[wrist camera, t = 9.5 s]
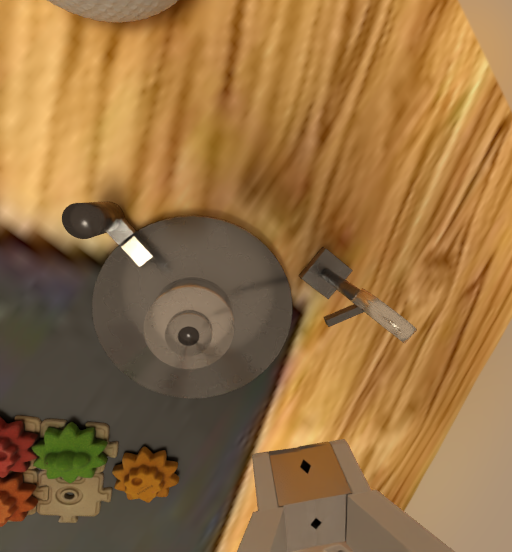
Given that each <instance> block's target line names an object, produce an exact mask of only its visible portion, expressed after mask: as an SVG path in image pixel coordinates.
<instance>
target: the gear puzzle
mask: <svg viewBox="0 0 512 552" xmlns="http://www.w3.org/2000/svg"><path fill="white" fill-rule="evenodd" d="M15 421H16V422H12V423H10V424H7V423H6V422H5V421H4V420H3V419H2V418H1V417H0V527H1V526H3V525H4V524H6V523H7V522H11V521H23V520H24V518H25V517H26V515H31V514H34V513H35V512H36V511H37V512H38V513H39V514H41V515H59V516H60V518H59V520H58V521H59V522H70V523H75V522H77V520H78V517H77V516H96V515H97V514H98V513H99V511H100V507H101V501H105V502H110V500H111V496H112V487H107V488H103V481H104V474H103V472H102V471H103V470H104V468H105V465H106V462H107V460H108V458H107V456H110V457H112V458H115V457H116V456H117V454H118V445H119V442H118V441H114V442H109V429H110V428H109V425H108V424H105V423H99V422H87V423H86V429H84V430H79V428H78V427H77V425H76V424H74V423H73V422H70V423H68V424H67V425H66V423H67V420H63V419H45V420H44V421H41V420H40V419H39V418H37V417H31V416H20V415H17V416H16V417H15ZM65 425H66V427H65ZM166 457H167V455H166V451H165V450H163V451H159V452H157V453H155V454H153V453H152V452H151V451H150V450H149V449H148V448H147V447H143V448H142V449H141V450H140V451H139V453H138V455H135V454H131V453H124V455H123V459H122V464H119V465H116V466H114V468H113V471H112V473H113V475H114V476H115V477H116V478H117V479H118V480H117V481H116V483H115V486H114V488H115V489H117V490H121V491H125V493H127V498H128V499H129V500H131V499H137V498H140V499H142V500H143V501H146V502H150V501H151V500H152V499H153V498H154V497H156V496H158V497H167V496H168V493H169V487H172V486H174V485H176V484H177V483H178V482H179V477H178V476H177V475H176V474H175V473H174V472H175V471H176V469H177V467H178V462H175V461H167V460H166ZM36 467H37V468H40V469H42V470H41V471H39V470H38V469H37V468H36ZM67 492H72V493H74V495H68V494H67Z"/></svg>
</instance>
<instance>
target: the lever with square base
mask: <svg viewBox="0 0 512 552" xmlns="http://www.w3.org/2000/svg"><path fill="white" fill-rule="evenodd" d="M351 272H352V270H351V269H350V268H349V267H348V266H346V265H345V264H344V263H343V262H342V261H340V260H339V259H338V258H337V257H336V256H334V255H333V254H332V253H331V252H330V251H328V250H327V249H326V248H324V247H322V248H321V249H320V251H319V252H318V253H317V254H316V256H315V257H314V258H313V259H312V260H311V262H310V263H309V264H308V265H307V267H306V268H305V269H304V270H303V271H302V273H301V274H300V275H299V277H300V278H301V279H303V280H304V281H305V282H307V283H308V284H309V285H310V286H312V287H313V288H314V289H316V290H317V291H318V292H320V293H321V294H322V295H323V296H325V297H326V298H327V299H329V298H330V297H331V295H332V294H333V293H334V292H335V291H336V290H338V291H339V292H341V293H342V294H343V295H344V296H346V297H347V298H348V299H349V300H351V301H352V302H353V303H354V304H353V305H351V306H349V307H346V308H344V309H342V310H339V311H337V312H335V313H332V314H330V315H327V316H325V317H324V319H325V322H326V324H327V325H328V327H330V326H332V325H335V324H337V323H339V322H342V321H344V320H346V319H349V318H351V317H353V316H356V315H358V314H360V313H363V312H365V313H367V314H368V315H369V316H370V317H372V318H373V319H374V320H375V321H377V322H378V323H379V324H380V325H382V326H383V327H384V328H386V329H387V330H388V331H389V332H391V333H392V334H393V335H394V336H396V337H397V338H398V339H399V340H401V341H402V342H403V343H406V341H407V340H408V339H409V338H410V337H411V336H412V335H413V334H414V333H415V332H416V331H417V329H416V328H415V327H414V326H413V325H412V324H410V323H409V322H408V321H407V320H406V319H404V318H403V317H402V316H400V315H399V314H398V313H397V312H395V311H394V310H393V309H391V308H390V307H389V306H387V305H386V304H385V303H383V302H382V301H381V300H379V299H378V298H376V297H375V296H374V295H372V294H371V293H369V292H368V291H366V290H365V289H363V288H362V289H361V290H360V289H358V288H357V287H355V286H354V285H352V284H351V283H349V282H348V281H346V280H345V279H346V278H347V277H348V276H349V274H350V273H351Z"/></svg>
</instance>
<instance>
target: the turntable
mask: <svg viewBox="0 0 512 552" xmlns="http://www.w3.org/2000/svg"><path fill="white" fill-rule="evenodd" d="M62 222H63V225H64V227H65V229H66V230H67V232H68V233H70V234H71V235H72V236H74V237H76V238H80V239H88V238H91V237H94V236H97V235H100V234H104V233H108V234H109V235H110V236H111V237H112V238H113V240H114V241H115V242H116V243H117V244H118V245H119V246H118V247H116V248H115V250H114V251H113V252H112V253H111V255H110V256H109V257H108V258H107V260H106V262H105V263H104V265H103V267H102V269H101V270H100V273H99V275H98V278H97V280H96V283H95V288H94V292H93V301H92V313H93V322H94V326H95V330H96V333H97V336H98V338H99V341H100V343H101V345H102V347H103V349H104V350H105V352H106V354H107V355H108V357H109V358H110V359H111V360H112V362H113V363H114V364H115V365H116V366H117V367H118V368H119V369H120V370H121V371H122V372H123V373H124V374H125V375H127V376H128V377H129V378H130V379H132V380H133V381H135V382H137V383H138V384H140V385H142V386H143V387H146V388H148V389H150V390H152V391H155V392H158V393H161V394H164V395H169V396H174V397H181V398H205V397H212V396H217V395H221V394H225V393H227V392H230V391H233V390H236V389H238V388H240V387H242V386H244V385H246V384H247V383H249V382H250V381H252V380H253V379H255V378H256V377H257V376H259V375H260V374H261V373H262V372H264V371H265V370H266V369H267V367H268V366H269V365H270V364H271V363H272V362H273V361H274V359H275V358H276V357H277V355H278V354H279V352H280V350H281V349H282V347H283V345H284V343H285V340H286V338H287V336H288V333H289V329H290V325H291V318H292V297H291V291H290V287H289V284H288V280H287V277H286V275H285V273H284V271H283V269H282V267H281V265H280V264H279V262H278V260H277V259H276V257H275V256H274V255H273V254H272V253H271V251H270V250H269V249H268V248H267V247H266V246H265V245H264V244H263V243H262V242H261V241H260V240H259V239H258V238H256V237H255V236H254V235H252V234H251V233H249V232H248V231H246V230H245V229H243V228H241V227H239V226H237V225H235V224H233V223H230V222H227V221H224V220H221V219H217V218H212V217H207V216H179V217H174V218H168V219H164V220H161V221H159V222H156V223H153V224H150V225H148V226H146V227H144V228H142V229H140V230H138V231H136V230H135V229H134V228H133V227H132V226H131V225H130V224H129V223H128V222H127V221H126V219H125V218H124V214H123V211H122V209H121V208H120V207H119V206H118V205H117V204H115V203H112V202H91V203H75V204H71V205H69V206H68V207H67V208H66V209H65V210H64V212H63V214H62ZM188 277H196V278H203V279H206V280H209V281H211V282H213V283H215V284H216V285H218V286H219V287H220V288H221V289H222V290H223V291H224V292H225V293H226V295H227V296H228V298H229V300H230V302H231V305H232V311H233V320H234V336H233V340H232V343H231V345H230V347H229V349H228V350H227V351H226V353H225V354H224V355H223V356H222V357H221V358H220V359H218V360H217V361H216V362H214V363H212V364H210V365H208V366H205V367H202V368H197V369H181V368H176V367H173V366H170V365H168V364H166V363H164V362H162V361H161V360H159V359H158V358H157V357H156V356H155V355H154V354H153V353H152V352H151V350H150V349H149V347H148V345H147V343H146V340H145V337H144V320H145V317H146V314H147V312H148V310H149V309H150V307H151V306H152V304H153V302H154V301H155V299H156V298H157V296H158V294H159V293H160V292H161V291H162V290H163V288H165V287H166V286H167V285H169V284H170V283H172V282H174V281H176V280H179V279H182V278H188Z"/></svg>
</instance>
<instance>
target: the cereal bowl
mask: <svg viewBox="0 0 512 552" xmlns="http://www.w3.org/2000/svg"><path fill="white" fill-rule="evenodd" d="M48 1H50V2H51V3H52V4H54V5H57V6H58V7H61V8H63V9H65V10H67V11H68V12H72V13H74V14H77V15H79V16H82V17H84V18H91V19H93V20H98V21H106V22H120V23H121V22H129V21H133V22H134V21H136V20H141V19H147V18H149V17H150V16H153V15H157V14H159V13H160V12H162V11H164V10H166V9H168V8H170V7H171V6H172V5H174V4H175V3H176V2H177V1H178V0H48Z"/></svg>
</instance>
